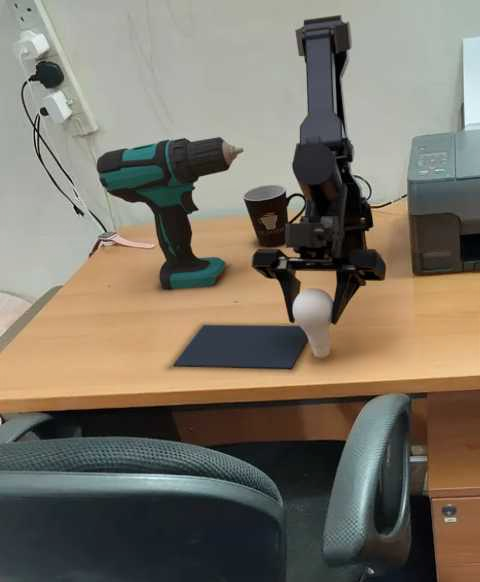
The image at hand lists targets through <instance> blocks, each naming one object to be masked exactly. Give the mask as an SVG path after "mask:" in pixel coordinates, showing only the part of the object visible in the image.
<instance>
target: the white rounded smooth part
mask: <svg viewBox="0 0 480 582" xmlns="http://www.w3.org/2000/svg"><path fill="white" fill-rule="evenodd" d="M333 302H334V298H332V296H331V295H330V294H329V293H328V292H326V291H325V290H323V289H320V288H316V287H311V288H307V289H304V290H302V291H300V293H299V295H298V296H297V297H296V299H295V301H294V303H293V316H294V319H295V322H296V324H297V326H300V327H301V328H302V329H303V330H304V331H305V333H306V335H307V337H308V339H307V341H308V343H309V345H310V346H311V349H312V350H311V351H312V354H313V356H315V358H316V357H317V358H320V359H324V358H326V357H327V356H328V355H329V354H330V352H331V349H330V341H331V334H330V333H331V326H332V325H333V324H332V323H331V318H332V308H333Z"/></svg>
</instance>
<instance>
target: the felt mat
mask: <svg viewBox="0 0 480 582" xmlns="http://www.w3.org/2000/svg"><path fill="white" fill-rule="evenodd" d="M307 342H308V337H307V335H306V333H305V331H304V330H303V329H302V328H301V327H300V326H299V325H237V324H236V325H232V324H231V325H230V324H227V325H223V324H218V325H217V324H215V325H214V324H206V325H205V324H204V325H202V327H201V328H199V330H198V331H197V333H196V334H195V336H193V339H191V341H190V342H189V343H188V345H186V347H185V349H184V350H183V351H182V353H181V354H179V356H178V358H177V359H176V360H175V362H174V363H173V367H192V368H228V369H229V368H232V369H268V370H269V369H272V370H273V369H274V370H275V369H276V370H293V368H294V366H295V364H296V362H297V361H298V359H299V357H300V355H301V353H302V351H303V349H304V347H305V345H306V343H307Z"/></svg>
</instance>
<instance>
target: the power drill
mask: <svg viewBox="0 0 480 582" xmlns="http://www.w3.org/2000/svg"><path fill="white" fill-rule="evenodd" d="M242 153H244V148H243V147H236V146H235V145H232V144H230V143H229V142H227V141H226V140H225V139H223V138H222V137H221V136H217V137H211V138H206V139H199V140H194V141H191V140H189V139H187V138H186V137H183V138H177V139H172V140H170V139H165V140H161V141H158V142H155V143H150V144H149V143H148V144H145V145H140V146H135V147H132V148H126V147H125V148H120V149H116V150H110V151H106V152H105V153H103V154H102V155H101V156H99V157H98V159H97V161H96V172H97V173H98V176H99V182H100V184H101V186H102V188H104V189H105V190H106V192H107V193H108V194H109V195H111V196H114V197H116V198H118V199H121V200H123V201H125V202H127V203H131V204H136V203H143V204H146V206H148V207H149V209H150V210H151V213H152V214H153V218H154V225H155V232H156V238H157V241H158V246H159V247H160V249H161V251H162V253H163V256H164V259H165V261H164V262H163V263H162V265H161V267H160V270H159V274H158V275H159V276H158V277H159V278H158V280H159V282H160V285H161V289H163V290H169V291H170V290H173V289H175V290H176V289H191V288H205V287H206V288H207V287H212V286H214V285H215V283H216V277H218V276H219V275H221V274H222V273H223V272H224V270H225V268H226V261H225V260H223V259H222V258H221V257H218V256H211V257H210V256H208V257H197V256H196V255H195V253H194V252H193V248H192V246H191V244H192V239H193V230H192V225H191V221H190V219H189V215H192V214H193V213H194V212H198V211H199V208H198V206H197V205H196V203H195V202H194V200H193V191H195V189H196V186H194V183H196V182H198V180H199V179H200V177H205V176H209V175H215V174H219V173H223V172H226V171H229V169H230V167H231V166H232V164H233V162H234V160H235V159H236V158H237V157H238V155H239V154H242Z"/></svg>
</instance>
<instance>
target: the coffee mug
mask: <svg viewBox="0 0 480 582" xmlns="http://www.w3.org/2000/svg"><path fill="white" fill-rule="evenodd" d="M295 197H299V198H301V199H302V200H303V202H304V203H303V204H304V205H303V207H302V209H301V210H300V211H299V212H298V213H297V214H296V215H295V216H294V217H293V218H291V220H289V214H288V207H289V205H290V203H291V200H292V199H293V198H295ZM242 199H243V201H244V204H245V207H246V211H247V213H248V216H249V218H250V221H251V224H252V227H253V230H254V233H255V236H256V239H257V242H258V245H259V246H260V247H263V248H277V247H279V246H283V245H286V240H285V224H286V223H295V221H297V220H298V218H300V217H301V216H302V214H303V213H305V207H306V198H305V197H304V195H303V193H299V192H296V193H292V194H290V195H289V196H287V188H286V187H285V186H284V185H280V184H265V185H259V186H256V187H252V188H250V189H248V190H247V191H245V192H244V193H243V194H242Z"/></svg>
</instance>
